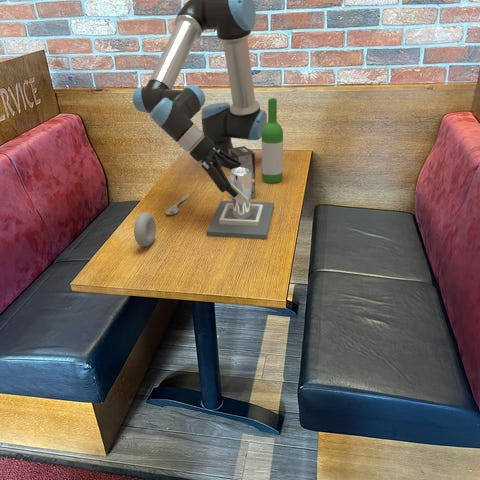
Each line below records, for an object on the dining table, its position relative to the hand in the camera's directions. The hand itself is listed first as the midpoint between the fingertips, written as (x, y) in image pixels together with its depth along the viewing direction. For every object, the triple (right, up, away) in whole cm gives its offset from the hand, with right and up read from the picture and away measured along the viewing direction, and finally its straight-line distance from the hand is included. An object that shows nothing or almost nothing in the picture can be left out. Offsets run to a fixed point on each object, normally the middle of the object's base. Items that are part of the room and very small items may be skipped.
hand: (248, 192), depth 138 cm
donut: (-30, -16, -6) cm, 34 cm away
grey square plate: (-2, -8, +5) cm, 10 cm away
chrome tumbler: (-2, -7, +5) cm, 9 cm away
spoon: (-23, -2, +18) cm, 29 cm away
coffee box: (-2, +2, +23) cm, 23 cm away
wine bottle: (+10, +8, +33) cm, 36 cm away
